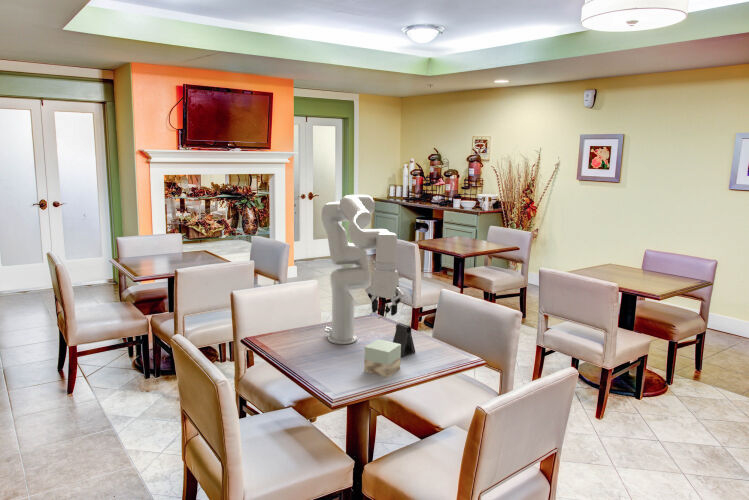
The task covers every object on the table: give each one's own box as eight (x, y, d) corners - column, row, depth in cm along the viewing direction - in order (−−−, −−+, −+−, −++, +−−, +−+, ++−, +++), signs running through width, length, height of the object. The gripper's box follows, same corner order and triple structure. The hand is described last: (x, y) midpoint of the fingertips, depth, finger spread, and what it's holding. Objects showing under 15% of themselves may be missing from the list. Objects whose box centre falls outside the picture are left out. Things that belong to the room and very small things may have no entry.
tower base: (364, 372, 203) (364, 359, 202) (377, 363, 211) (377, 351, 210) (387, 378, 198) (388, 365, 197) (400, 369, 206) (400, 356, 206)
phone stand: (400, 357, 217) (401, 328, 215) (389, 353, 222) (390, 325, 219) (415, 352, 223) (416, 324, 221) (404, 348, 228) (406, 321, 226)
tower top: (364, 359, 202) (364, 346, 201) (377, 351, 210) (378, 339, 209) (388, 365, 197) (388, 352, 196) (400, 356, 206) (401, 344, 205)
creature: (374, 322, 196) (395, 316, 198) (371, 308, 195) (392, 302, 197) (368, 316, 203) (388, 310, 205) (365, 302, 202) (385, 297, 204)
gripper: (360, 264, 198) (358, 311, 201) (402, 270, 190) (400, 319, 193) (369, 261, 205) (368, 307, 208) (411, 267, 197) (409, 314, 200)
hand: (384, 312), depth 201 cm, fingers closed on creature, 7 cm apart
